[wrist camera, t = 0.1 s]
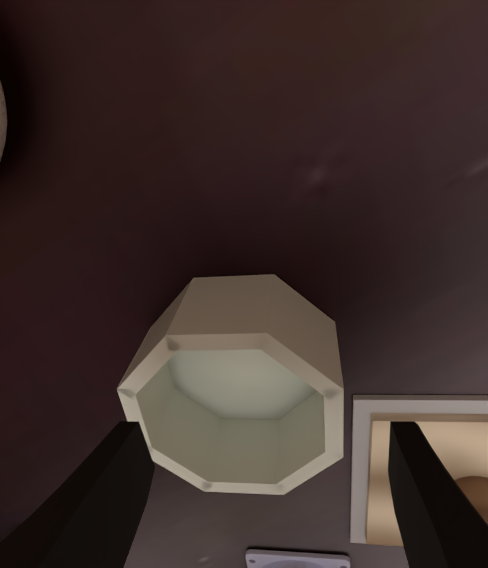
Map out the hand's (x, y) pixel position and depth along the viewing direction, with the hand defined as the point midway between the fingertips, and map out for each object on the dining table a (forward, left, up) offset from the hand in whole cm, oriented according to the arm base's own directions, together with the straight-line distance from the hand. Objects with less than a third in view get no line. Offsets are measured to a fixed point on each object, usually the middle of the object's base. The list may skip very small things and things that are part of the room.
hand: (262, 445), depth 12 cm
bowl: (-5, +2, -10) cm, 11 cm away
